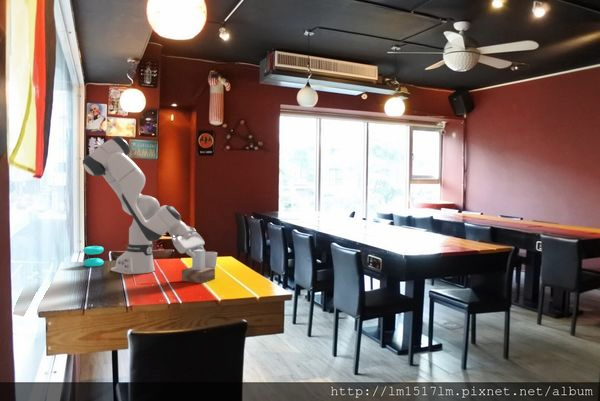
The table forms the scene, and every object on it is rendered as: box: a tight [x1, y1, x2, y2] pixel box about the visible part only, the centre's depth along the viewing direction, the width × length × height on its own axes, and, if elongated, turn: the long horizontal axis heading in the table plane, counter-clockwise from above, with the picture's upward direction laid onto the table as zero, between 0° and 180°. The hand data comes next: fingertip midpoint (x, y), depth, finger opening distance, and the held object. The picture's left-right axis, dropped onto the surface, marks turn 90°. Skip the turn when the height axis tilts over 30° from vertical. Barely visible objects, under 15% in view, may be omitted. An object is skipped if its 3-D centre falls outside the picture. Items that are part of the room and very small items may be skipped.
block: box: [191, 249, 206, 270], centre depth 217 cm, size 4×4×9 cm
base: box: [181, 266, 216, 284], centre depth 218 cm, size 11×11×5 cm
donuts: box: [82, 245, 104, 268], centre depth 246 cm, size 10×10×10 cm
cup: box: [205, 251, 218, 268], centre depth 246 cm, size 11×8×8 cm
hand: (199, 255), depth 217 cm, fingers open, 8 cm apart
